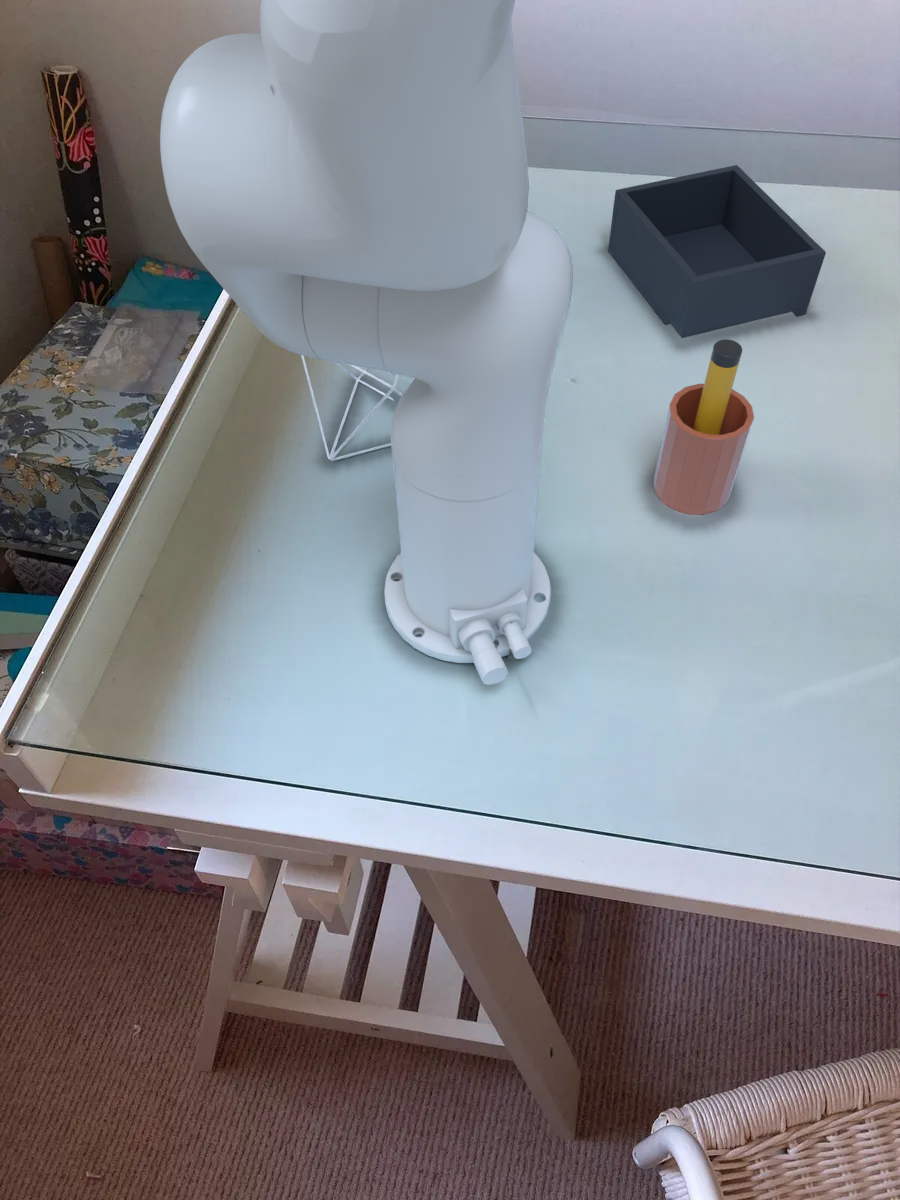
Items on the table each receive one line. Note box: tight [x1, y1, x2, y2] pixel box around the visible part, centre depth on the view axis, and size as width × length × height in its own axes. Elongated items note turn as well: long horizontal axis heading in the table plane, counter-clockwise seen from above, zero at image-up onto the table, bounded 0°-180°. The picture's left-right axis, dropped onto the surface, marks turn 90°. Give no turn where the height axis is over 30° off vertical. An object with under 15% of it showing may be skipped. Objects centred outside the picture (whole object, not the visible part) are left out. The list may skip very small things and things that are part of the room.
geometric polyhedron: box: [300, 355, 404, 462], centre depth 82 cm, size 12×11×9 cm
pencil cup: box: [653, 383, 755, 516], centre depth 76 cm, size 6×6×9 cm
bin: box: [607, 164, 827, 339], centre depth 95 cm, size 17×14×7 cm
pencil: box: [693, 338, 743, 435], centre depth 73 cm, size 2×2×14 cm
